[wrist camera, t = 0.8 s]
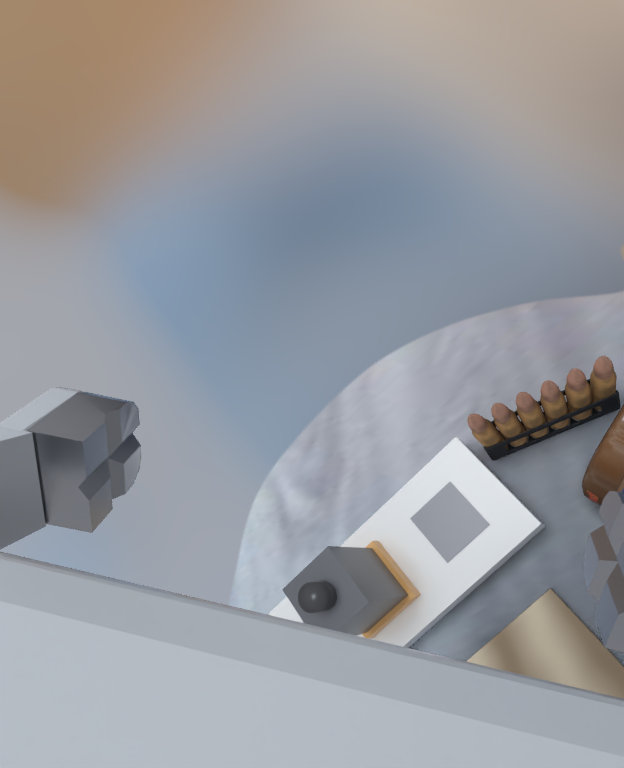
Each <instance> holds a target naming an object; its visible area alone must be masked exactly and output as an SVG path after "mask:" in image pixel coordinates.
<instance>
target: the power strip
mask: <svg viewBox="0 0 624 768" xmlns="http://www.w3.org/2000/svg"><path fill="white" fill-rule="evenodd" d="M544 527H545V525H544V524H543V523H542V522H541V521H540V520H539V519H538V518H537V517H536V516H535V515H534V514H533V513H532V512H531V511H530V510H529V509H528V508H527V507H526V506H525V505H524V504H523V503H522V502H521V501H520V500H519V499H518V498H517V497H516V495H515V494H514V493H513V492H512V491H511V490H510V489H509V488H508V487H507V486H506V485H505V484H504V483H503V482H502V481H501V480H500V479H499V478H498V477H497V476H496V475H495V474H494V473H493V472H492V471H491V470H490V469H489V468H488V467H487V466H486V465H485V464H484V463H483V462H482V461H481V460H480V459H479V458H478V457H477V456H476V455H475V454H474V453H473V452H472V451H471V450H470V449H469V448H468V447H467V446H466V445H465V444H464V443H463V442H462V441H460V440H459V439H458V438H457V437H455V438H454V439H453V440H452V441H451V442H450V443H449V444H448V445H447V446H446V447H445V448H444V449H442V450H441V451H440V452H439V453H438V454H437V455H436V456H435V457H434V458H433V459H432V460H431V461H430V462H429V463H428V464H427V465H426V466H424V467H423V468H422V469H421V470H420V471H419V472H418V473H417V474H416V475H415V476H414V477H413V478H412V479H411V480H410V481H409V482H407V483H406V484H405V485H404V486H403V487H402V488H401V489H400V490H399V491H398V492H397V493H396V494H395V495H394V496H393V497H392V498H391V499H389V500H388V501H387V502H386V503H385V504H384V505H383V506H382V507H381V508H380V509H379V510H378V511H377V512H376V513H375V514H374V515H373V516H371V517H370V518H369V519H368V520H367V521H366V522H365V523H364V524H363V525H362V526H361V527H360V528H359V529H358V530H357V531H356V532H355V533H353V534H352V535H351V536H350V537H349V538H348V539H347V540H346V541H345V542H344V543H343V544H342V545H341V546H340V547H358V548H365V547H366V546H367V545H368V544H370V543H371V542H372V541H379V542H380V543H381V544H382V546H383V547H384V548H385V550H386V551H387V552H388V553H389V555H390V556H391V557H392V558H393V560H394V561H395V562H396V563H397V565H398V566H399V567H400V569H401V570H402V571H403V572H404V574H405V575H406V576H407V577H408V579H409V580H410V581H411V583H412V584H413V585H414V586H415V588H416V589H417V590H418V591H419V593H420V594H421V595H420V596H419V597H418V598H417V599H416V600H415V601H413V602H412V603H411V604H410V605H409V606H408V607H407V608H406V609H405V610H404V611H402V612H401V613H400V614H399V615H398V616H397V617H396V618H395V619H394V620H392V621H391V622H390V623H389V624H388V625H387V626H386V627H385V628H384V629H382V630H381V631H380V632H379V633H378V634H377V635H376V636H375V637H374V638H371V639H373V640H377V641H381V642H385V643H390V644H394V645H398V646H402V647H406V648H409V647H410V646H411V645H413V644H414V643H415V642H416V641H417V640H418V639H419V638H420V637H422V636H423V635H424V634H425V633H426V632H427V631H428V630H429V629H431V628H432V627H433V626H434V625H435V624H436V623H437V622H438V621H440V620H441V619H442V618H443V617H444V616H445V615H446V614H447V613H449V612H450V611H451V610H452V609H453V608H454V607H455V606H456V605H458V604H459V603H460V602H461V601H462V600H463V599H464V598H465V597H467V596H468V595H469V594H470V593H471V592H472V591H473V590H474V589H476V588H477V587H478V586H479V585H480V584H481V583H482V582H483V581H485V580H486V579H487V578H488V577H489V576H490V575H491V574H492V573H494V572H495V571H496V570H497V569H498V568H499V567H500V566H502V565H503V564H504V563H505V562H506V561H507V560H508V559H509V558H511V557H512V556H513V555H514V554H515V553H516V552H517V551H518V550H520V549H521V548H522V547H523V546H524V545H525V544H526V543H527V542H529V541H530V540H531V539H532V538H533V537H534V536H535V535H536V534H538V533H539V532H540V531H541V530H542V529H543V528H544ZM269 614H270V615H271V616H275V617H279V618H284V619H288V620H292V621H296V622H301V623H304V622H303V620H302V619H301V617H300V616H299V614H298V613H297V611H296V610H295V608H294V607H293V605H292V604H291V602H290V601H289V599H288V597H286V598H285V599H284V600H282V601H281V602H280V603H279V604H278V605H277V606H276V607H275V608H274V609H273V610H272V611H271V612H270V613H269ZM357 636H360V637H364V636H363V635H362V634H360V635H357ZM364 638H365V637H364Z"/></svg>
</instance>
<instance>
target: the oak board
mask: <svg viewBox="0 0 624 768" xmlns="http://www.w3.org/2000/svg"><path fill="white" fill-rule="evenodd" d="M466 662H470V663H474V664H479V665H483V666H487V667H491V668H496V669H500V670H504V671H508V672H513V673H517V674H521V675H525V676H530V677H534V678H538V679H542V680H547V681H551V682H555V683H559V684H564V685H568V686H572V687H576V688H581V689H585V690H589V691H593V692H598V693H602V694H606V695H610V696H615V697H619V698H623V699H624V666H623V665H622V664H621V663H620V661H619V660H618V659H617V658H616V657H615V656H614V655H613V654H612V653H611V652H610V651H609V650H608V649H607V648H604V644H603V643H602V642H601V641H600V640H599V639H598V638H597V637H596V636H595V634H594V633H593V632H592V631H591V630H590V629H589V628H588V627H587V626H586V625H585V624H584V623H583V622H582V620H581V619H580V618H579V617H578V616H577V615H576V614H575V613H574V612H573V611H572V610H571V609H570V608H569V606H568V605H567V604H566V603H565V602H564V601H563V600H562V599H561V598H560V597H559V596H558V595H557V594H556V592H555V591H554V590H553V589H552V588H550V589H549V590H548V591H547V592H546V593H545V594H543V595H542V596H541V597H540V598H539V599H538V600H537V601H535V602H534V603H533V604H532V605H531V606H530V607H528V608H527V609H526V610H525V611H524V612H523V613H522V614H520V615H519V616H518V617H517V618H516V619H515V620H513V621H512V622H511V623H510V624H509V625H508V626H507V627H505V628H504V629H503V630H502V631H501V632H500V633H498V634H497V635H496V636H495V637H494V638H493V639H492V640H490V641H489V642H488V643H487V644H486V645H485V646H483V647H482V648H481V649H480V650H479V651H478V652H477V653H475V654H474V655H473V656H472V657H471V658H470V659H468V660H467V661H466Z"/></svg>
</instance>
